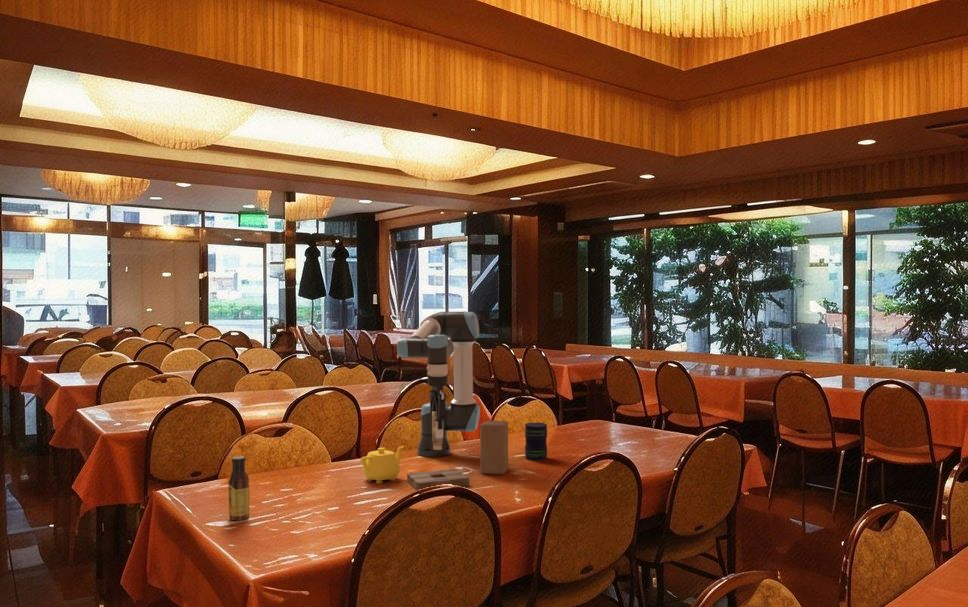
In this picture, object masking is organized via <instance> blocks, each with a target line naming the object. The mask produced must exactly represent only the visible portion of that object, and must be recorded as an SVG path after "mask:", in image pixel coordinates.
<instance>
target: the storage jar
mask: <svg viewBox="0 0 968 607" xmlns="http://www.w3.org/2000/svg"><path fill="white" fill-rule="evenodd" d="M524 438H525V445H524V455H525V456H524V458H525V460H527V461H533V462H538V461H539V462H541V461H546V460H547V459H548V446H547V438H548V424H547V423H543V422H528V423H527V422H526V423H525V424H524Z"/></svg>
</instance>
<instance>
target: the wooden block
mask: <svg viewBox="0 0 968 607" xmlns="http://www.w3.org/2000/svg"><path fill="white" fill-rule="evenodd" d="M479 431H480V433H479V434H480V435H479V436H480V438H479V441H480V444H479V445H480V447H479V448H480V455H479V456H480V457H479V458H480V460H479V461H480V468H479V469H480V471H479V472H480V473H481V474H484V475H505V474H506V472H507V470H508V469H509V422H508V421H506V420H505V421H504V420H485V421H484V422H483V423H481V424H480V430H479Z"/></svg>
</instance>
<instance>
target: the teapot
mask: <svg viewBox="0 0 968 607" xmlns="http://www.w3.org/2000/svg"><path fill="white" fill-rule="evenodd" d="M404 447H405V445H401V446H399V447H398V448H397V450H396V451H395V452H396V453H395V452H394V451H391V450H387V449H386V447H378V448H377V450H373V451H368V453H367V455H366V456H362V457H361V458H360V463H361V466H362V472H363V475H364V476H365V478H367V481H368V482H370V481H371V482H372V481H374V480H375V481H376V482H375V483H376V484H378V485H380V484H381V485H382V484H383V482H384V480H389V481H390V482H391V481H392V482H393V481H396V478H398V476H399V474H400V463H401V452H402V449H404Z"/></svg>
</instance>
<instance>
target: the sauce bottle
mask: <svg viewBox="0 0 968 607" xmlns="http://www.w3.org/2000/svg"><path fill="white" fill-rule="evenodd" d="M245 462H246V456H243V455H236V456H233V457H232V458H231V463H232V470H231V474H230V477H229V480H228V515H229V519H230V520H231V521H244V520H246V519H248V518H249V517H250V484H249V482H250V481H249V480H250V479H249V475H248V474H247V472H246V468H245V467H246V466H245V465H246V464H245Z"/></svg>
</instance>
